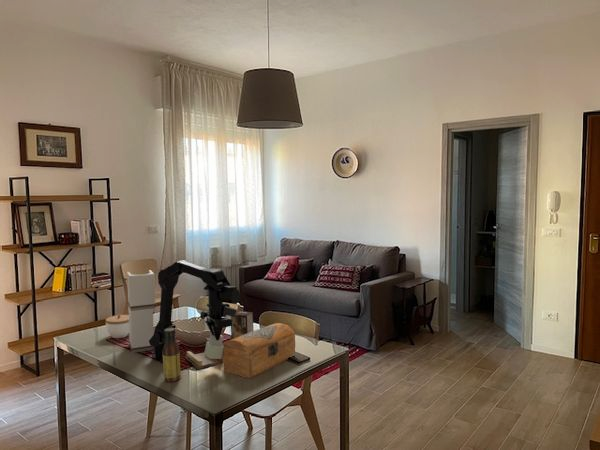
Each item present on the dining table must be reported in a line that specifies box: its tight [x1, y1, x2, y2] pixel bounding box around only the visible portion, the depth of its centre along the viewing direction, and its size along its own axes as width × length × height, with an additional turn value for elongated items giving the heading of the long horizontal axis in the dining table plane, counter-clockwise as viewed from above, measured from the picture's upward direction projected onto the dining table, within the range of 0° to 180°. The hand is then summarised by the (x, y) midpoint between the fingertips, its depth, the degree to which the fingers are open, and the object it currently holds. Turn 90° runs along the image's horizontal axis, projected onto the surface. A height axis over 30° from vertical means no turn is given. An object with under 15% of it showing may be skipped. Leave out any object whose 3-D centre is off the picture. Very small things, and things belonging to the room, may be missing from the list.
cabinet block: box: [203, 334, 224, 359], centre depth 183 cm, size 5×6×8 cm
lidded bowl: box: [105, 313, 129, 339], centre depth 228 cm, size 13×13×11 cm
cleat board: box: [185, 337, 223, 370], centre depth 194 cm, size 12×14×7 cm
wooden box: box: [222, 322, 296, 379], centre depth 190 cm, size 30×16×14 cm, turn 144°
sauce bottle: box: [162, 328, 182, 383], centre depth 174 cm, size 7×6×20 cm
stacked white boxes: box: [126, 269, 157, 354], centre depth 210 cm, size 11×11×35 cm
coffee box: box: [230, 310, 255, 340], centre depth 210 cm, size 9×6×16 cm
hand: (216, 339), depth 183 cm, fingers closed on cabinet block, 2 cm apart
